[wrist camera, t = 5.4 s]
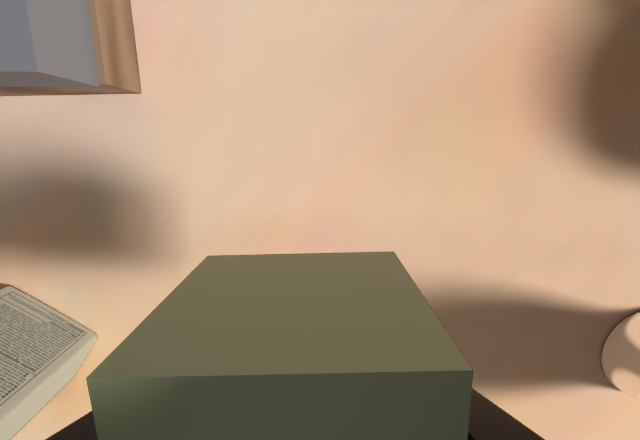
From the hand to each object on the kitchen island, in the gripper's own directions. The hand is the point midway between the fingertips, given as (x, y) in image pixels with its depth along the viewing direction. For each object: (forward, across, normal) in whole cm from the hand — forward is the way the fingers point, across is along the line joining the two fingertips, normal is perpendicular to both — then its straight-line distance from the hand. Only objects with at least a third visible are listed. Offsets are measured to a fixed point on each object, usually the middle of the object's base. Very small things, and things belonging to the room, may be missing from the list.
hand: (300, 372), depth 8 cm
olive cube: (+2, 0, 0) cm, 2 cm away
